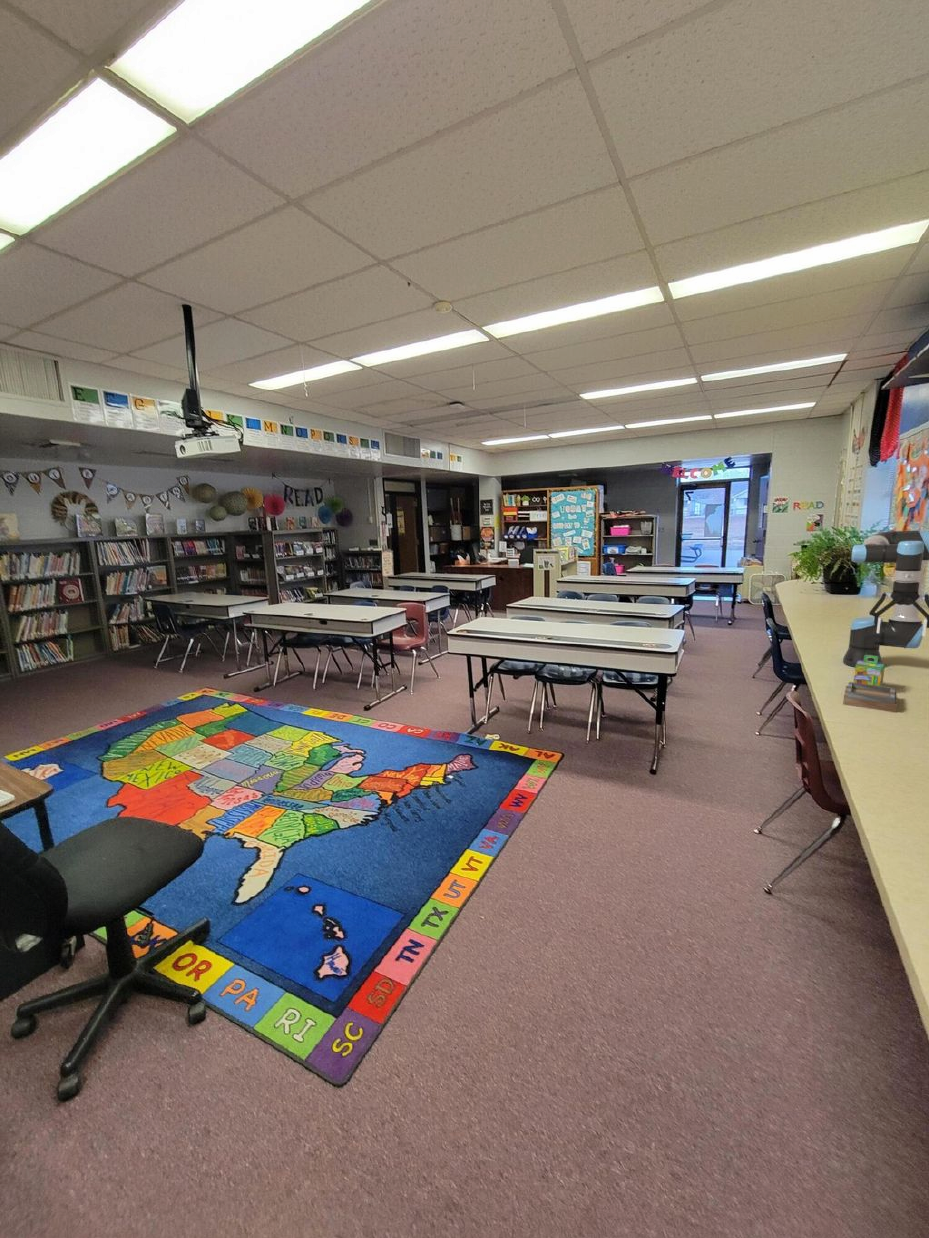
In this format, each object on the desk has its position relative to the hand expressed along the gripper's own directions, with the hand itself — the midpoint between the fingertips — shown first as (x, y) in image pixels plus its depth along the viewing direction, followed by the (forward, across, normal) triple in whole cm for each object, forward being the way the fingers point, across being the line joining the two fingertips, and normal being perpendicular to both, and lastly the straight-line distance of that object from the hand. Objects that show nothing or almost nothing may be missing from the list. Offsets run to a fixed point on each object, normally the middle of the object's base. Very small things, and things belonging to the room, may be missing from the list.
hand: (900, 634), depth 195 cm
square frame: (+26, -7, -10) cm, 29 cm away
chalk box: (+27, -8, +7) cm, 29 cm away
